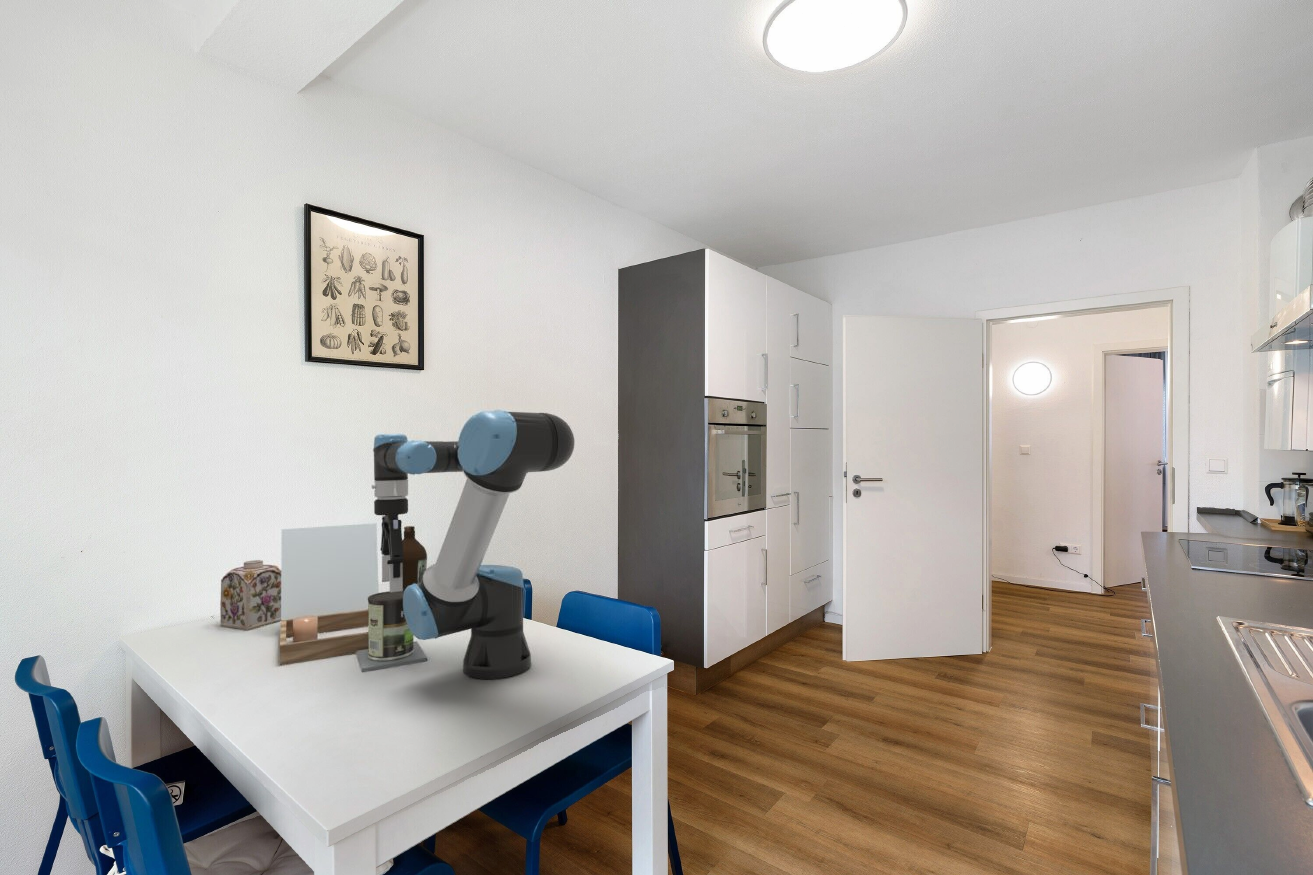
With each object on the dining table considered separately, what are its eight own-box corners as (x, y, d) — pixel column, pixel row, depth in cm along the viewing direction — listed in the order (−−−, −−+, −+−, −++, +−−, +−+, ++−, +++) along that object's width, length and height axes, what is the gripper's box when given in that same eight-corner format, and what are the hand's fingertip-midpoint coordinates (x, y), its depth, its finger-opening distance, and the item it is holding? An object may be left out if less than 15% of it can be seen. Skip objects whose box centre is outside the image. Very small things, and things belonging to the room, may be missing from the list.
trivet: (427, 660, 145) (427, 657, 145) (361, 672, 138) (361, 668, 138) (416, 644, 157) (416, 641, 157) (356, 654, 150) (356, 650, 150)
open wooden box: (391, 647, 155) (391, 629, 155) (279, 665, 143) (279, 645, 143) (379, 623, 176) (379, 607, 176) (281, 637, 164) (281, 620, 164)
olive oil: (386, 609, 191) (386, 529, 192) (398, 600, 202) (398, 524, 202) (420, 608, 192) (420, 528, 192) (431, 600, 203) (431, 524, 203)
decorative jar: (246, 631, 169) (247, 565, 170) (218, 626, 174) (218, 563, 174) (286, 619, 181) (287, 558, 181) (259, 615, 185) (259, 556, 185)
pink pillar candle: (317, 642, 159) (317, 619, 159) (292, 646, 157) (292, 622, 157) (317, 636, 164) (317, 614, 164) (292, 640, 161) (292, 617, 161)
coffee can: (420, 646, 153) (421, 590, 153) (403, 661, 143) (403, 600, 143) (379, 646, 153) (380, 590, 153) (359, 661, 143) (359, 600, 143)
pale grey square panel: (376, 523, 182) (375, 524, 183) (281, 529, 169) (281, 530, 171) (379, 607, 176) (378, 608, 177) (281, 620, 164) (281, 620, 165)
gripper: (368, 496, 157) (369, 579, 157) (380, 501, 136) (381, 598, 135) (400, 494, 161) (400, 575, 160) (416, 499, 140) (417, 593, 139)
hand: (391, 586), depth 148 cm, fingers open, 13 cm apart
